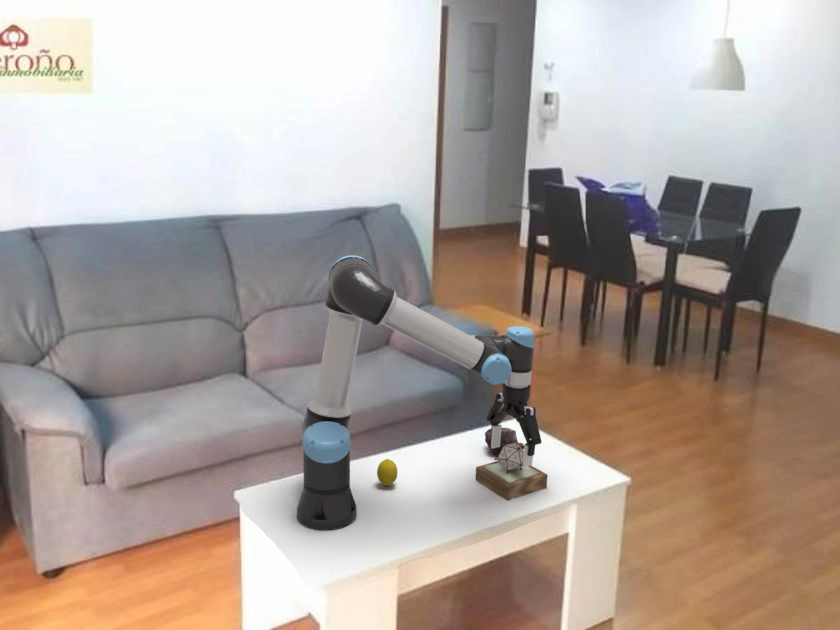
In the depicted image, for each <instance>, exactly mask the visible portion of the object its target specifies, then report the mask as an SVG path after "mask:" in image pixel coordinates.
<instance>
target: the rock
mask: <svg viewBox="0 0 840 630" xmlns="http://www.w3.org/2000/svg"><path fill="white" fill-rule="evenodd" d="M484 436H485V438H484V442H485V443H486V445H487V447H488V448H489V451H490V452H491V453H492V454H493V455H495V456H497V457H498V456H499V454H500V452H501V450H502V449H501V447H503V446H502V443H503V444H504V445H507V444H511V443H515V441H516V440H517V444H518V445H519V446H520V447H521V448H522V449H523V450H524V445H525V443H522V442H519V441H518V437H517V432H516V430H514V429H511V427H510V428H509V427H501V440H500V447H497V448H493V449H492V448H491V440H492V435H491V428H489V429H487V431H485V432H484Z"/></svg>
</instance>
